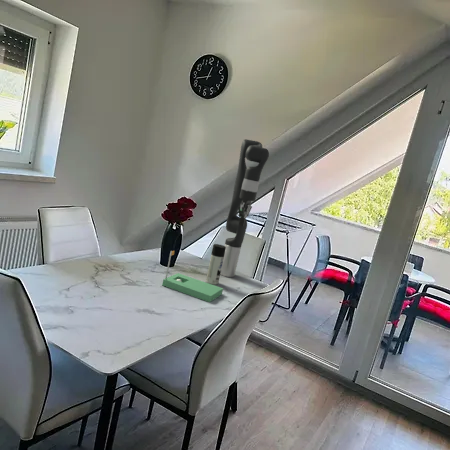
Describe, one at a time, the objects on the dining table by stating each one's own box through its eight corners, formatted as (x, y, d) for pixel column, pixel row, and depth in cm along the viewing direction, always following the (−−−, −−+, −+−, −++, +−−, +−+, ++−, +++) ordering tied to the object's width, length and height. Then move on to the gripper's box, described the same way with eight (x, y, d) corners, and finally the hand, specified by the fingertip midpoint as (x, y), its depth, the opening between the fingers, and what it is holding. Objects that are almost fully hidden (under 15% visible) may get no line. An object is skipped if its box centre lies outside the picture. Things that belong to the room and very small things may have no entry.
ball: (183, 284, 207) (177, 284, 208) (182, 278, 206) (176, 278, 207) (180, 286, 204) (174, 285, 205) (179, 279, 203) (174, 279, 204)
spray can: (216, 285, 217) (224, 248, 213) (204, 282, 218) (211, 245, 214) (219, 282, 223) (227, 246, 220) (207, 279, 224) (215, 242, 221)
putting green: (177, 278, 215) (183, 246, 212) (221, 294, 206) (229, 261, 203) (162, 285, 201) (168, 251, 198) (209, 302, 192) (217, 266, 189)
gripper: (246, 187, 205) (238, 222, 208) (237, 187, 193) (229, 224, 196) (261, 191, 203) (252, 226, 206) (252, 191, 190) (244, 228, 194)
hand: (241, 225), depth 201 cm, fingers closed
